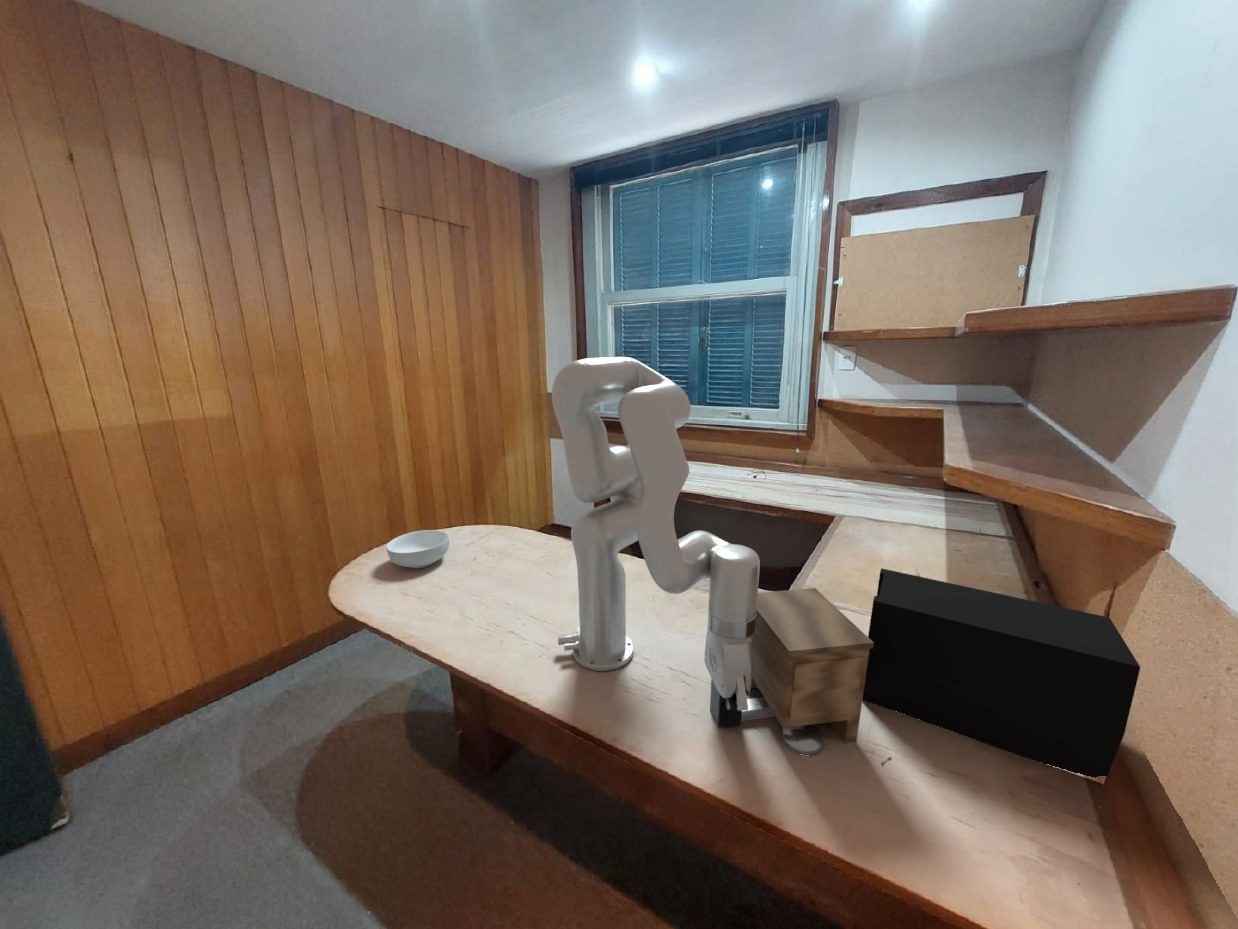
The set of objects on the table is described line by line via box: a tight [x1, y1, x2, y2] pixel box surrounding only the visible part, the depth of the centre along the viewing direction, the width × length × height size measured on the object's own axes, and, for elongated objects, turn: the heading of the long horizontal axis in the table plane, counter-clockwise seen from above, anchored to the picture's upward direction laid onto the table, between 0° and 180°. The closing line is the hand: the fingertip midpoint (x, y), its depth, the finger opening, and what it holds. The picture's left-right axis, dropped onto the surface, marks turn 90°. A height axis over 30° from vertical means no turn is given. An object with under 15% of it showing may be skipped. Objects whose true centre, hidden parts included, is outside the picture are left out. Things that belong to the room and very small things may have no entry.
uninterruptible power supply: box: [862, 568, 1141, 778], centre depth 80 cm, size 16×34×20 cm, turn 57°
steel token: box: [782, 724, 824, 757], centre depth 77 cm, size 6×6×2 cm
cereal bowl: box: [386, 529, 450, 569], centre depth 140 cm, size 17×17×7 cm
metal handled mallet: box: [709, 677, 776, 728], centre depth 82 cm, size 16×4×7 cm, turn 98°
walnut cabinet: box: [751, 587, 874, 744], centre depth 81 cm, size 14×17×18 cm
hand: (726, 713), depth 82 cm, fingers closed on metal handled mallet, 4 cm apart
